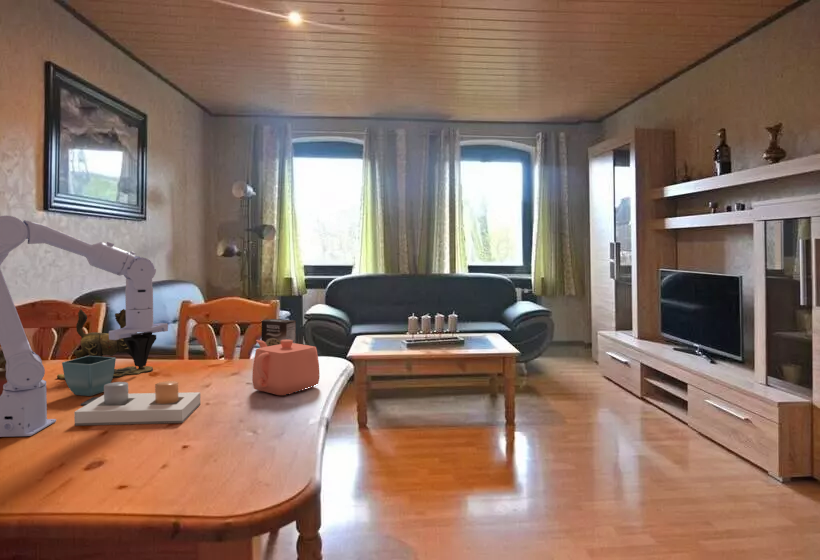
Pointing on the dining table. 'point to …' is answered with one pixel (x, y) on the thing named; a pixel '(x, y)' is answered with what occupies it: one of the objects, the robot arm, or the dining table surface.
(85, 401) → the mat
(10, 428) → the robot arm
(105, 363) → the flower pot
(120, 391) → the grey button
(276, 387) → the teapot
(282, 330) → the coffee box
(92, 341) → the figurine
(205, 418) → the dining table surface
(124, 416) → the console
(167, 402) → the tan button
